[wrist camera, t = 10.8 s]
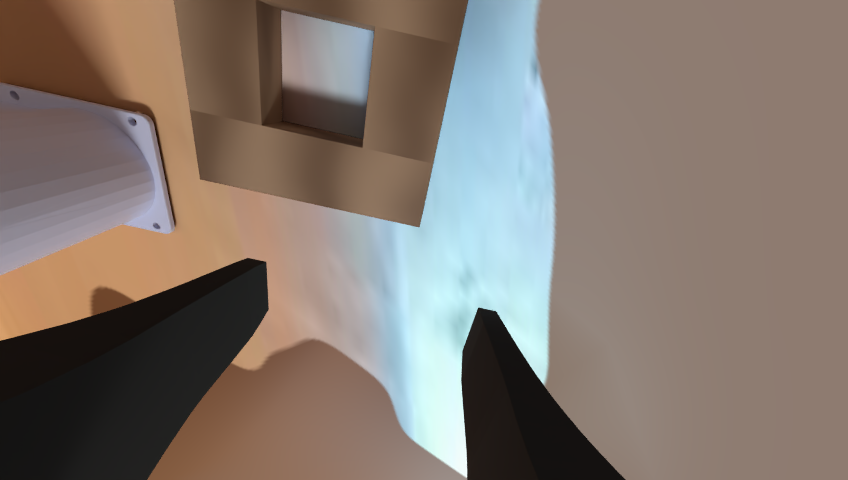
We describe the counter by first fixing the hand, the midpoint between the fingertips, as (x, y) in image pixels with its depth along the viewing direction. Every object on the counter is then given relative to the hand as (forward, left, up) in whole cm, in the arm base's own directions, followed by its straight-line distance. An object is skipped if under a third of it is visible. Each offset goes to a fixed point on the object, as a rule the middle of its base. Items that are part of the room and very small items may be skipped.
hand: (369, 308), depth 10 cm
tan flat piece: (-6, +6, -10) cm, 13 cm away
